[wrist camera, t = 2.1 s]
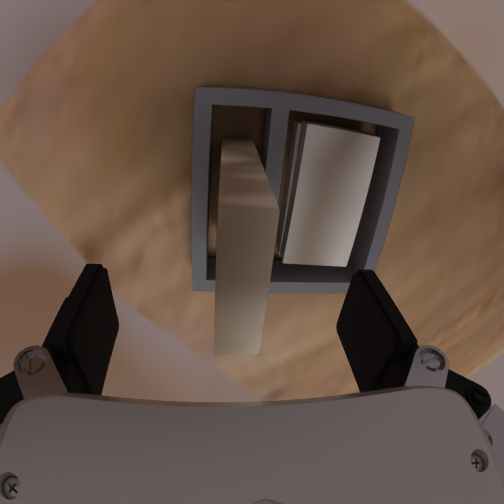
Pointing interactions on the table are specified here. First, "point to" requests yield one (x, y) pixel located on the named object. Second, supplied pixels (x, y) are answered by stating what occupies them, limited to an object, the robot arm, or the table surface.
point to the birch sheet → (243, 248)
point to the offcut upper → (327, 194)
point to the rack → (272, 156)
